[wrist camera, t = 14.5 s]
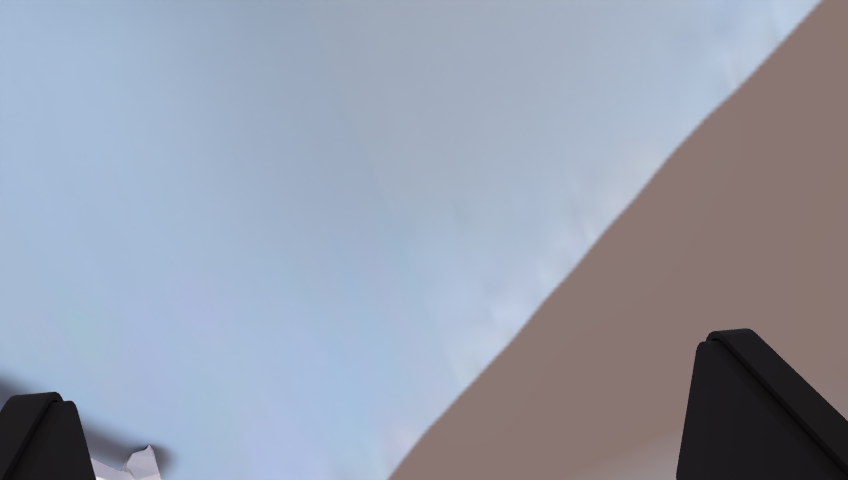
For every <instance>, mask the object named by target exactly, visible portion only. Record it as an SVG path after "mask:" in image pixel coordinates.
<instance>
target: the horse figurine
mask: <svg viewBox="0 0 848 480" xmlns="http://www.w3.org/2000/svg"><path fill="white" fill-rule="evenodd" d="M90 458H91V457H90ZM91 462H92V466H93V469H94V473H95V477H96V480H161V477H160V474H159V471H158V467H157V464H156V460H155V455H154V450H153V449H152V448H151V446H150V445H147V447H146V448H145V449H144V450H142V451H139V452H136V453H133V454H131V455H130V456H129V458H128V459H127V461H126V463H125V464H124V466H123V468H122V469H121V471H118V470H115V469H113V468H111V467H109V466H106V465H104V464H102V463H100V462H98V461H96V460H95V459H93V458H91Z"/></svg>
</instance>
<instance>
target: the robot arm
mask: <svg viewBox="0 0 848 480" xmlns="http://www.w3.org/2000/svg"><path fill="white" fill-rule="evenodd" d="M676 479H677V480H848V421H847V420H846V419H845V418H844V417H843V416H842V415H841V414H840V413H839V412H838V411H837V410H835V409H834V408H833V407H832V406H831V405H830V404H829V403H828V402H827V401H826V400H825V399H824V398H823V397H822V396H821V395H820V394H819V393H818V392H816V390H815V389H814V388H813V387H811V386H810V385H809V384H808V383H807V382H806V381H805V380H804V379H803V378H802V377H801V376H800V375H799V374H798V373H797V372H796V371H795V370H794V369H793V368H792V367H791V366H789V364H787V363H786V362H785V361H784V360H783V359H782V358H781V357H780V356H779V355H778V354H777V353H776V352H775V351H774V350H773V349H772V348H771V347H770V346H769V345H768V344H766V343H765V342H764V341H763V340H762V339H761V338H760V337H759V336H758V335H757V334H756V333H755V332H754V331H752V330H751V329H734V330H723V331H714V332H711V333H710V334H709V335H708V337H707V339H706V341H705V342H701V343H699V345H698V347H697V350H696V356H695V362H694V368H693V374H692V380H691V387H690V393H689V399H688V405H687V411H686V417H685V423H684V429H683V436H682V442H681V448H680V454H679V460H678V466H677V473H676ZM0 480H96V477H95V473H94V469H93V466H92V462H91V458H90V455H89V451H88V447H87V444H86V440H85V436H84V433H83V429H82V425H81V422H80V418H79V414H78V411H77V408H76V405H75V404H74V402H72V401H63V399H62V397H61V396H60V394H59V393H57V392H48V393H37V394H26V395H15V396H13V397H11V398H10V399H9V400H8V401H7V402H6V404H5V405H4V407H3V408H2V410H1V412H0Z"/></svg>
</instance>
